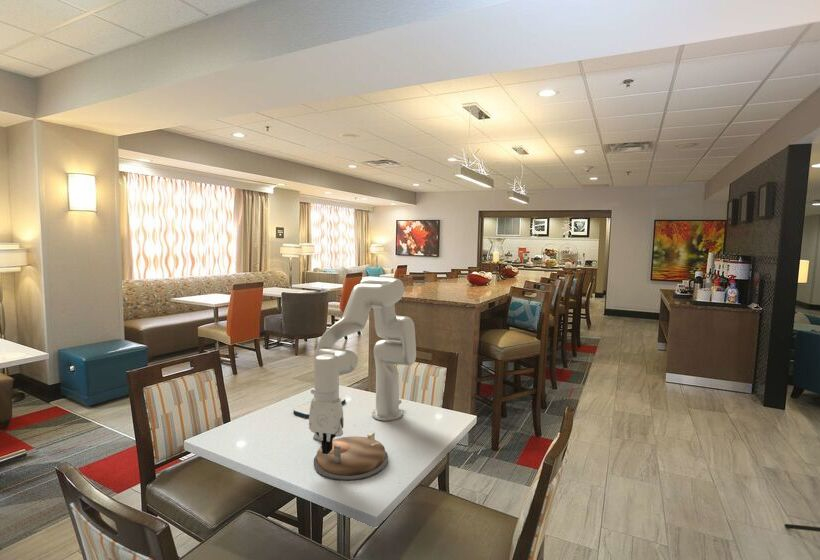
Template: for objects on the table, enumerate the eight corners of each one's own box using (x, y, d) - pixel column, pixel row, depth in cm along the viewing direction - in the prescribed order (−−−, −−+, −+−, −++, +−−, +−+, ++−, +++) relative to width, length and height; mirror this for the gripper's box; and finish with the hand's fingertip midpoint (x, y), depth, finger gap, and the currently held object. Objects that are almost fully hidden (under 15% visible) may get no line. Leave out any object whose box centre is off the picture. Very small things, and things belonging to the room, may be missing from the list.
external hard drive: (309, 420, 174) (309, 415, 173) (290, 414, 180) (290, 409, 180) (348, 403, 193) (348, 398, 193) (329, 397, 200) (329, 393, 199)
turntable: (341, 437, 155) (341, 418, 154) (396, 449, 146) (396, 429, 145) (302, 465, 135) (302, 443, 134) (363, 481, 126) (363, 458, 125)
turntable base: (344, 436, 159) (344, 425, 158) (403, 449, 149) (403, 438, 148) (297, 470, 134) (297, 457, 134) (364, 488, 125) (364, 475, 124)
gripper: (298, 396, 132) (299, 453, 134) (343, 401, 128) (343, 461, 129) (311, 388, 139) (312, 443, 141) (353, 393, 135) (353, 450, 136)
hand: (326, 451), depth 135 cm, fingers closed
